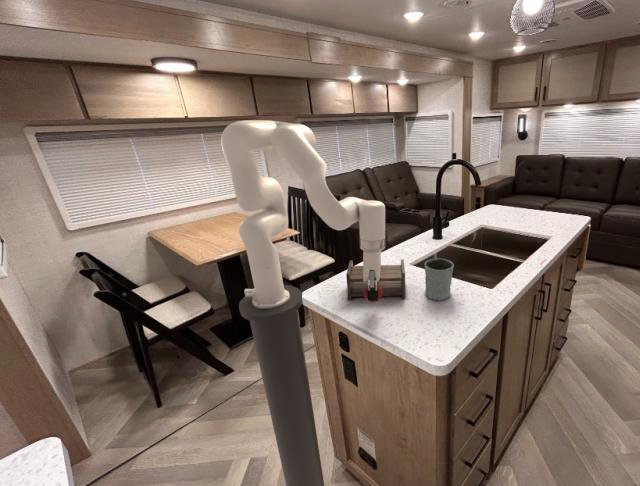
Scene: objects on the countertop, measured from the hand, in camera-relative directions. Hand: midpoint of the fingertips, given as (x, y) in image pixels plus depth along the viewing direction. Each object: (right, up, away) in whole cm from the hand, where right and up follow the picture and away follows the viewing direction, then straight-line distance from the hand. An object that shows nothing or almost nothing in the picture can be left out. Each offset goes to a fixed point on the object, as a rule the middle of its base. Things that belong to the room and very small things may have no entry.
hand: (373, 294), depth 103 cm
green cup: (+22, -2, +13) cm, 26 cm away
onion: (0, -3, +1) cm, 3 cm away
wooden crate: (0, -1, +15) cm, 15 cm away
